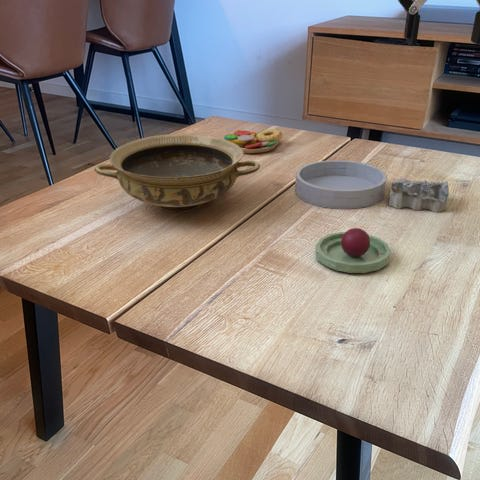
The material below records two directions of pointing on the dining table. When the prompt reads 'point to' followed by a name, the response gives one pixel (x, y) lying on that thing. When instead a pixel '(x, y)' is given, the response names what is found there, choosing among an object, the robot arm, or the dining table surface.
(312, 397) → the dining table surface
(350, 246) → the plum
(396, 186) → the egg carton
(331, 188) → the dish
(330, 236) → the saucer
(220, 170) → the ceramic bowl
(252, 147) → the toy food set
